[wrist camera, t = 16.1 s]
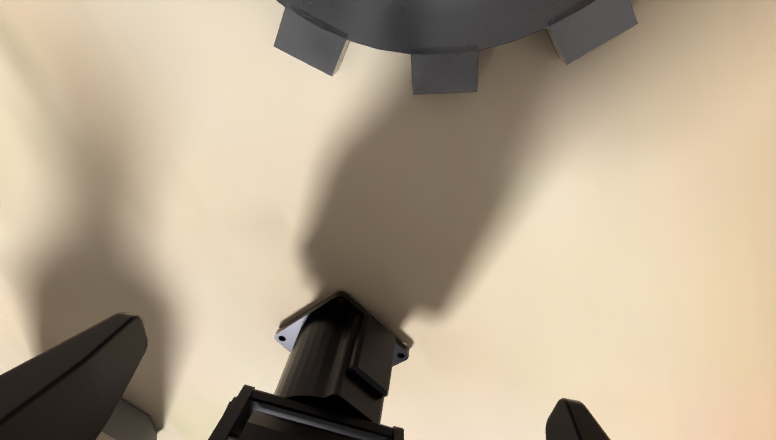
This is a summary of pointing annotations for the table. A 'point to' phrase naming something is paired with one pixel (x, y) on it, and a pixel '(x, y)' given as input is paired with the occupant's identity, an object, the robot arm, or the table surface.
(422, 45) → the timing wheel
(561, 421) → the robot arm
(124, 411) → the liquor
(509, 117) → the table surface
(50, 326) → the table surface
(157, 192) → the table surface
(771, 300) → the table surface
